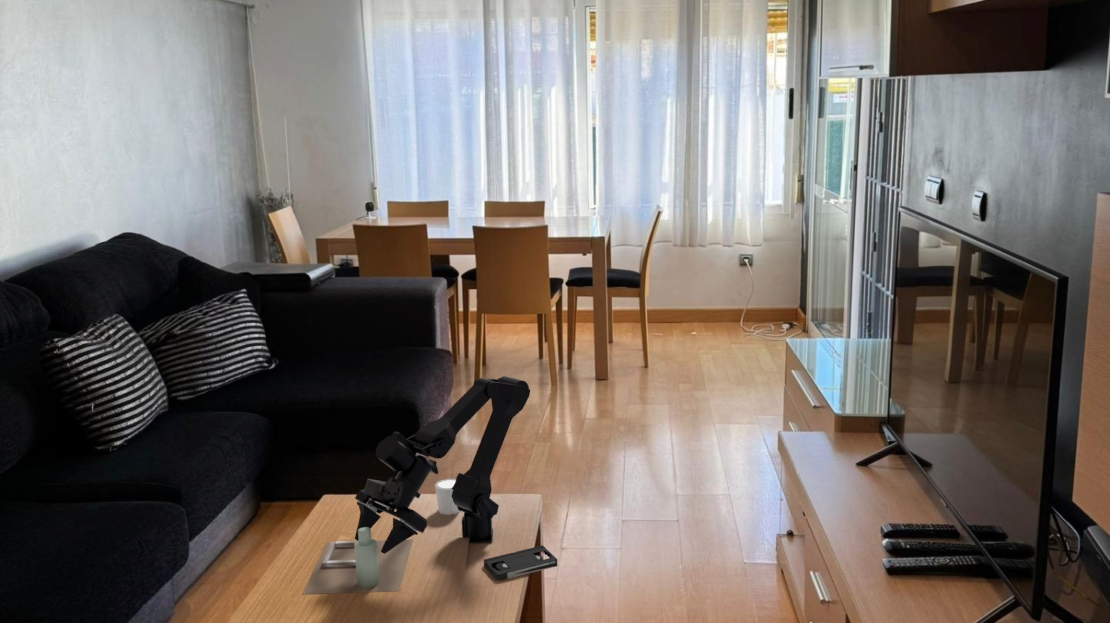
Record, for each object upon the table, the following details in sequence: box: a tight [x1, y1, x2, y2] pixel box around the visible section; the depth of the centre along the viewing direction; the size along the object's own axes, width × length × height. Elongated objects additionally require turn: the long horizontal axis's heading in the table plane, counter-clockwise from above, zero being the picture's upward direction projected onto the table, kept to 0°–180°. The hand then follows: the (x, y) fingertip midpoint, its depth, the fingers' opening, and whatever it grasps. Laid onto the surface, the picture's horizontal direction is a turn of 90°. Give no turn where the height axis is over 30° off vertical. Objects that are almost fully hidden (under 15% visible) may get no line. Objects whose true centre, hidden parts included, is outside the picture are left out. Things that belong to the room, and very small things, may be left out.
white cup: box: [434, 478, 461, 516], centre depth 245 cm, size 7×7×7 cm
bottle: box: [354, 527, 379, 588], centre depth 207 cm, size 5×5×12 cm
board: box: [301, 538, 414, 596], centre depth 216 cm, size 20×24×2 cm
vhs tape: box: [483, 544, 558, 582], centre depth 216 cm, size 14×8×2 cm, turn 116°
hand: (369, 546), depth 207 cm, fingers open, 9 cm apart
